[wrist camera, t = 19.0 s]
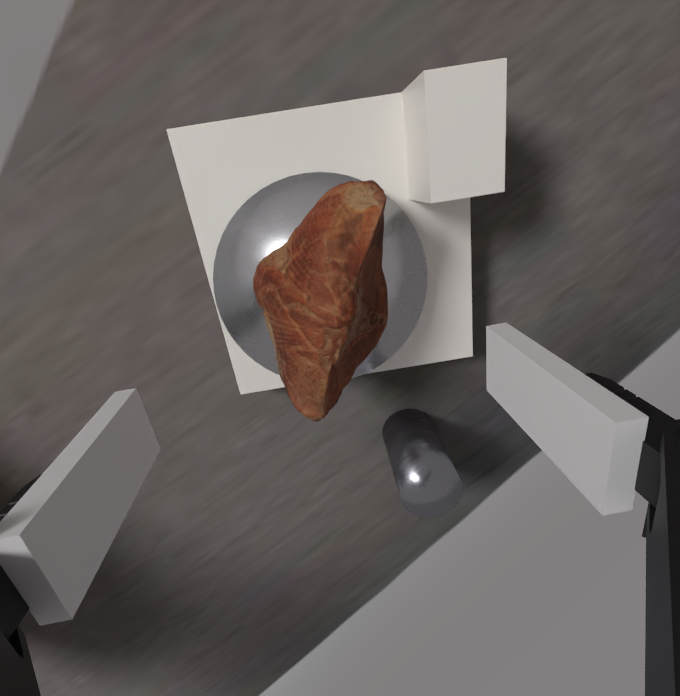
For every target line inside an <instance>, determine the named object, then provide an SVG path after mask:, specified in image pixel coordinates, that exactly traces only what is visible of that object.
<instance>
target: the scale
mask: <svg viewBox="0 0 680 696" xmlns="http://www.w3.org/2000/svg"><path fill="white" fill-rule="evenodd" d="M506 74H507V58H502V59H495V60H489V61H483V62H476V63H470V64H463V65H457V66H451V67H444V68H438V69H432V70H425V71H423V72H422V73H421V74H420V75H419V76H418V77H417V78H416V79H415V80H414V81H413V82H412V83H411V84H410V85H409V86H408V87H407V88H405V89H404V90H403V91H402V92H400V93H394V94H388V95H381V96H375V97H369V98H362V99H356V100H350V101H343V102H337V103H330V104H324V105H318V106H311V107H305V108H299V109H292V110H286V111H280V112H273V113H267V114H261V115H254V116H248V117H242V118H235V119H229V120H222V121H216V122H210V123H203V124H197V125H191V126H184V127H178V128H172V129H166V130H167V133H168V137H169V140H170V144H171V148H172V151H173V155H174V158H175V162H176V165H177V169H178V173H179V176H180V180H181V183H182V187H183V191H184V194H185V198H186V201H187V205H188V208H189V212H190V216H191V219H192V223H193V226H194V230H195V233H196V237H197V241H198V244H199V248H200V251H201V255H202V258H203V262H204V266H205V269H206V273H207V276H208V280H209V283H210V287H211V291H212V294H213V298H214V301H215V305H216V308H217V304H216V299H215V295H214V286H213V269H214V260H215V256H216V251H217V247H218V245H219V242H220V239H221V236H222V234H223V232H224V230H225V228H226V226H227V225H228V223H229V221H230V220H231V218H232V217H233V216H234V214H235V213H236V212H237V210H238V209H239V208H240V207H241V206H242V205H243V204H244V203H245V202H246V201H247V200H248V199H249V198H250V197H252V196H253V195H254V194H256V193H257V192H258V191H259V190H261V189H263V188H264V187H266V186H268V185H270V184H271V183H273V182H276V181H278V180H281V179H283V178H286V177H289V176H293V175H297V174H302V173H311V172H330V173H338V174H343V175H348V176H351V177H354V178H357V179H360V180H362V181H368V180H373V181H375V182H376V183H377V184H378V185H379V186H380V187H381V188H382V189H383V190H384V193H385V194H386V195H388V196H389V197H390V198H391V199H392V200H393V201H394V202H395V203H396V204H397V205H398V206H400V208H401V209H402V210H403V211H404V213H405V214H406V215H407V216H408V218H409V219H410V221H411V222H412V224H413V226H414V228H415V229H416V231H417V233H418V236H419V238H420V241H421V243H422V246H423V250H424V253H425V257H426V265H427V291H426V298H425V302H424V306H423V309H422V312H421V315H420V317H419V320H418V322H417V324H416V326H415V328H414V330H413V331H412V333H411V335H410V336H409V338H408V339H407V340H406V342H405V343H404V344H403V345H402V347H401V348H400V349H399V350H398V351H397V352H396V353H395V354H394V355H393V356H391V357H390V358H389V359H388V360H387V361H385V362H384V363H383V364H381V365H380V366H378V367H376V368H375V369H373V370H371V371H369V372H367V373H365V374H368V373H374V372H380V371H387V370H393V369H399V368H405V367H411V366H417V365H423V364H429V363H435V362H442V361H448V360H454V359H460V358H466V357H472V356H473V336H472V276H471V216H470V197H474V196H481V195H487V194H493V193H499V192H505V140H506ZM217 312H218V316H219V319H220V323H221V326H222V330H223V334H224V337H225V341H226V344H227V348H228V351H229V355H230V359H231V362H232V366H233V369H234V373H235V376H236V380H237V384H238V387H239V391H240V394H246V393H252V392H258V391H264V390H270V389H277V388H283V387H285V386H284V384H283V382H282V380H281V377H280V375H278V374H275V373H273V372H272V371H270V370H268V369H266V368H264V367H263V366H261V365H260V364H258V363H257V362H255V361H254V360H253V359H252V358H250V357H249V356H248V355H247V354H246V353H245V352H244V351H243V350H242V349H241V348H240V347H239V346H238V344H237V343H236V342H235V341H234V339H233V338H232V337H231V335H230V334H229V332H228V331H227V329H226V327H225V325H224V323H223V321H222V319H221V316H220V313H219V310H218V308H217Z"/></svg>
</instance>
